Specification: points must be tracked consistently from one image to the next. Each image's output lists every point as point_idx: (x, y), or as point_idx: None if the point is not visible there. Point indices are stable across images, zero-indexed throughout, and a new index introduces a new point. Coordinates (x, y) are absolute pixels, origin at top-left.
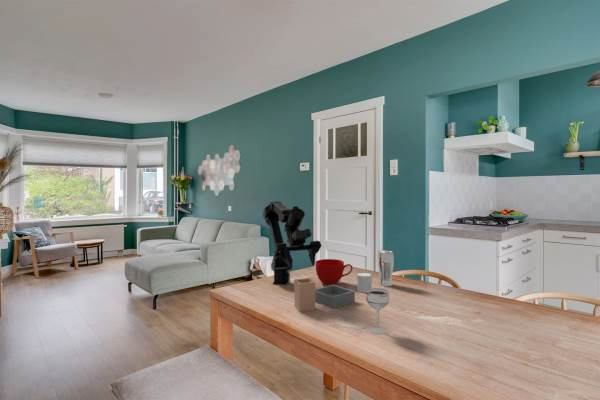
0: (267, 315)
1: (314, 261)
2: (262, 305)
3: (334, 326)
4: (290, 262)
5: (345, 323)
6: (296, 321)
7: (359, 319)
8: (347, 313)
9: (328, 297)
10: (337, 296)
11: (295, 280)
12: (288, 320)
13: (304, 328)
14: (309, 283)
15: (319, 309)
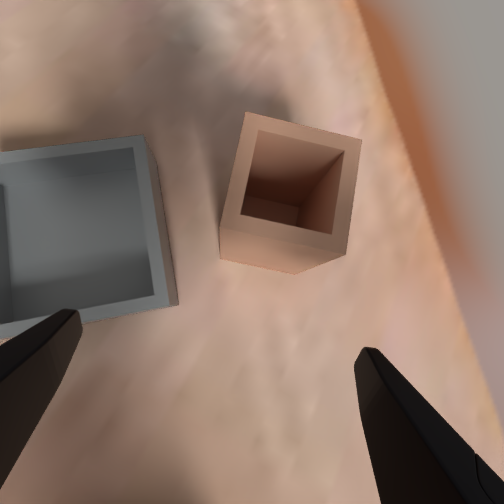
0: (434, 237)
1: (27, 334)
2: (420, 362)
3: (262, 30)
4: (409, 393)
5: (213, 27)
6: (357, 130)
7: (144, 25)
8: (142, 89)
9: (150, 173)
10: (111, 139)
11: (348, 227)
12: (379, 152)
13: (358, 69)
14: (286, 124)
15: (216, 184)
